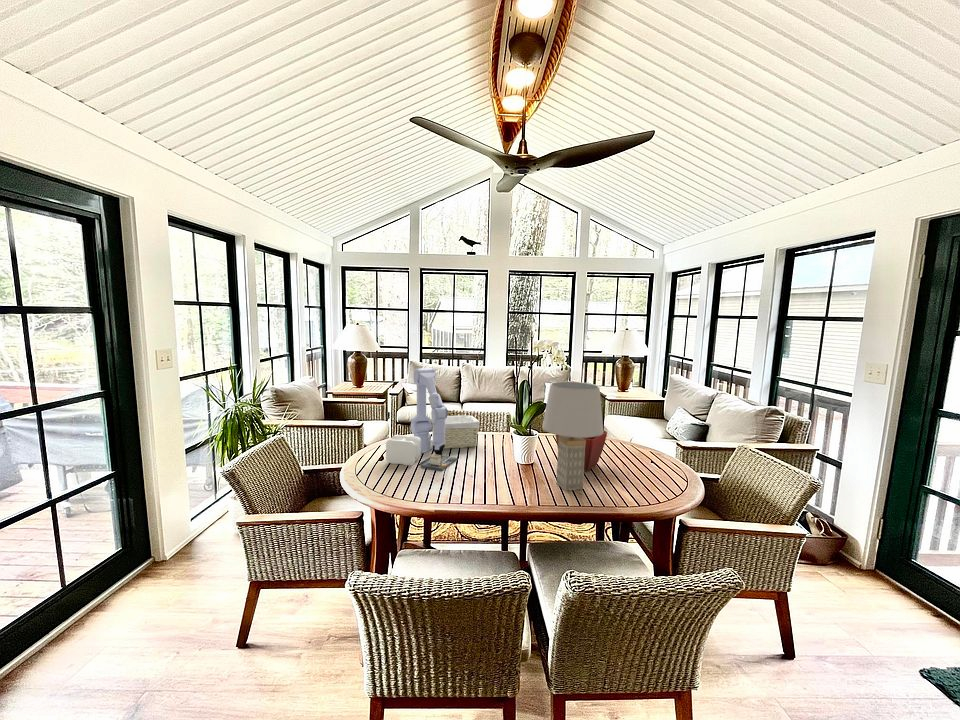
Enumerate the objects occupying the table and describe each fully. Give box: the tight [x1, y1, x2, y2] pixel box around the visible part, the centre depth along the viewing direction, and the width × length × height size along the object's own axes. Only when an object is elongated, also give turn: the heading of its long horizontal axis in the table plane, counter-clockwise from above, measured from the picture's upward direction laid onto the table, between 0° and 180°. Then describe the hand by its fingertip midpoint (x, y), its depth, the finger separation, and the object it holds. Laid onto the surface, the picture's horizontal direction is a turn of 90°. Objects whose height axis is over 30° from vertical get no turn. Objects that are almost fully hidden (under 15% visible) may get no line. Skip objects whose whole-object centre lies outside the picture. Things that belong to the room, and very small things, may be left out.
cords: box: [417, 456, 430, 467], centre depth 211 cm, size 15×2×1 cm, turn 159°
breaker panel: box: [420, 454, 458, 472], centre depth 208 cm, size 17×11×2 cm, turn 159°
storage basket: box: [431, 415, 480, 450], centre depth 238 cm, size 24×16×15 cm
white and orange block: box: [429, 453, 441, 465], centre depth 203 cm, size 3×4×4 cm
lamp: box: [541, 381, 605, 492], centre depth 182 cm, size 25×25×44 cm
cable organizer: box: [385, 434, 422, 466], centre depth 209 cm, size 15×11×12 cm
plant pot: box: [555, 430, 608, 472], centre depth 211 cm, size 19×19×17 cm
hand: (438, 460), depth 206 cm, fingers closed
